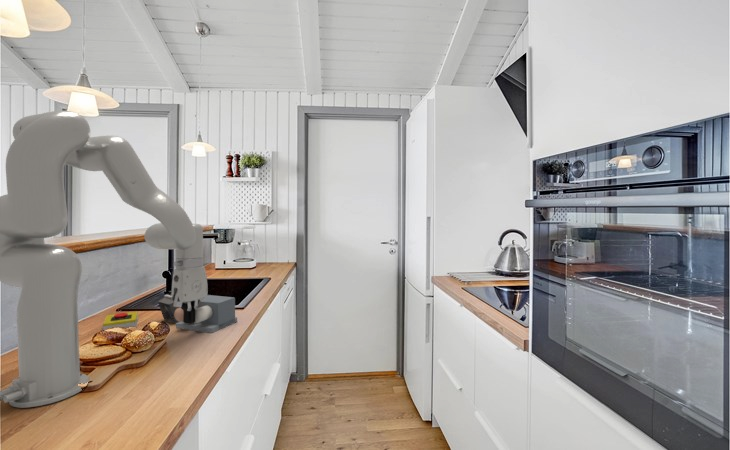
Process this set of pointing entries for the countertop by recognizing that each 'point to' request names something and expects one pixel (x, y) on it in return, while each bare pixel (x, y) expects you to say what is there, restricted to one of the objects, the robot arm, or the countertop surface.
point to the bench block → (214, 314)
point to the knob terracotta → (178, 314)
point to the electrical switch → (168, 309)
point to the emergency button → (121, 320)
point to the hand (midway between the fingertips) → (189, 322)
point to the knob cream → (203, 313)
